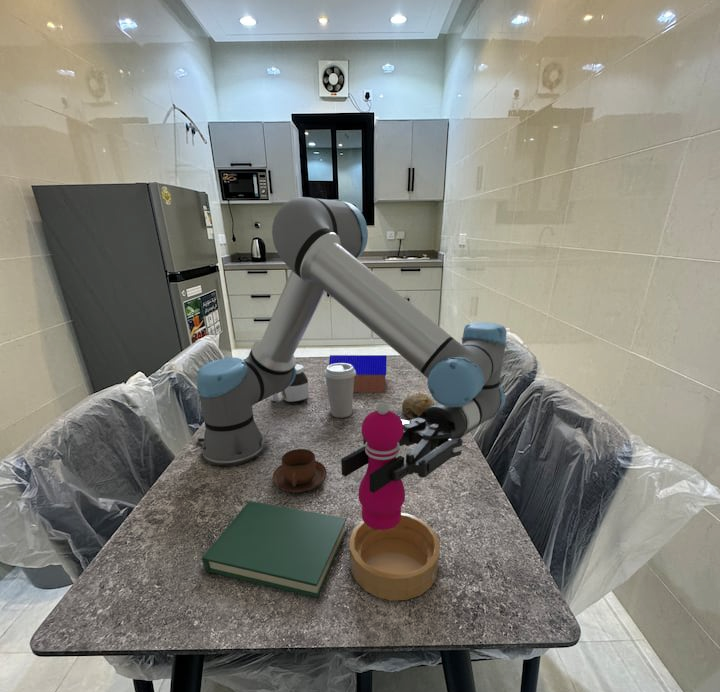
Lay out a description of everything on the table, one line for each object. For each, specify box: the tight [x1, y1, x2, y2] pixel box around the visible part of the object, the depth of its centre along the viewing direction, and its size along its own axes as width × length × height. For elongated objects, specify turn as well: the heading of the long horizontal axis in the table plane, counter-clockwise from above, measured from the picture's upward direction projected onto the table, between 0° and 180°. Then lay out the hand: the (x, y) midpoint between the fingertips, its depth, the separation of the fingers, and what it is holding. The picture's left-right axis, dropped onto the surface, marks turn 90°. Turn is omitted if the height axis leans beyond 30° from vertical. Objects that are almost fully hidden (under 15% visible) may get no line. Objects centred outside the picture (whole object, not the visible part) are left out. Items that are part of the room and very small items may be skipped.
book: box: [201, 500, 348, 599], centre depth 67 cm, size 20×15×3 cm
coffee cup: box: [323, 363, 356, 419], centre depth 116 cm, size 10×10×15 cm
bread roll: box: [401, 392, 435, 419], centre depth 117 cm, size 10×10×8 cm
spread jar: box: [271, 363, 310, 405], centre depth 126 cm, size 12×11×12 cm
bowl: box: [349, 512, 441, 602], centre depth 64 cm, size 15×15×5 cm
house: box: [328, 354, 388, 393], centre depth 137 cm, size 12×20×12 cm, turn 86°
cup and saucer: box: [272, 448, 327, 493], centre depth 86 cm, size 12×12×6 cm
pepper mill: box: [357, 401, 406, 530], centre depth 57 cm, size 7×7×20 cm
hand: (357, 475), depth 53 cm, fingers closed on pepper mill, 5 cm apart
